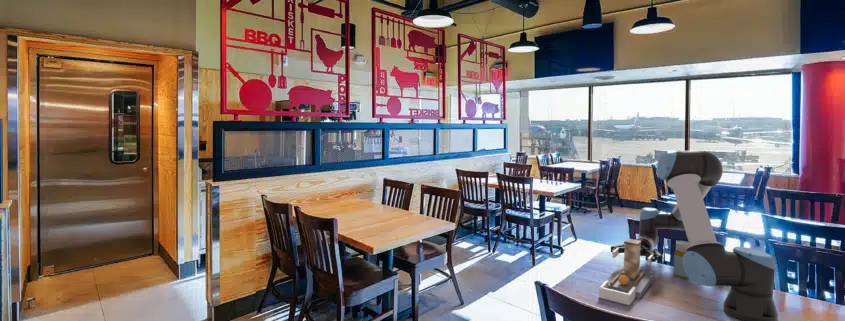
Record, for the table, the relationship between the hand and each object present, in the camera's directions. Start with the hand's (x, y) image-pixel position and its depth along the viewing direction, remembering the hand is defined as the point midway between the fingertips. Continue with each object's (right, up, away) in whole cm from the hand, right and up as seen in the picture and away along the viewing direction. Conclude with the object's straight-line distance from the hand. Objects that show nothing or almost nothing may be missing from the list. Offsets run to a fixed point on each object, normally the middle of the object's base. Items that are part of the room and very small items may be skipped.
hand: (630, 258), depth 175 cm
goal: (-12, -12, -13) cm, 22 cm away
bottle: (+27, -10, +7) cm, 29 cm away
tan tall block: (0, -8, +1) cm, 8 cm away
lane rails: (-2, -8, -2) cm, 9 cm away
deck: (-1, -11, 0) cm, 11 cm away
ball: (-6, -9, -7) cm, 13 cm away
